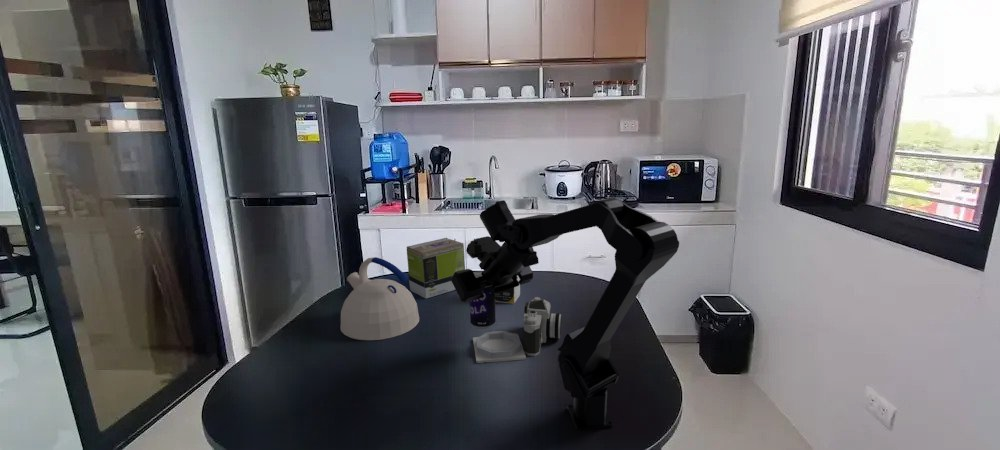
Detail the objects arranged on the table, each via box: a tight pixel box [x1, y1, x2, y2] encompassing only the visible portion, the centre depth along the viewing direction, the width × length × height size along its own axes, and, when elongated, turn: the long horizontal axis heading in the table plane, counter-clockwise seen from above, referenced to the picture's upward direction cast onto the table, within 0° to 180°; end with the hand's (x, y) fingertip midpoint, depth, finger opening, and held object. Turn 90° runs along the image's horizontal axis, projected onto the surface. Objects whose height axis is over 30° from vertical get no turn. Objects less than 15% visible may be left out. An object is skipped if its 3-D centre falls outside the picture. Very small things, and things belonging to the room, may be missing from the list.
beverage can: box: [469, 270, 497, 330], centre depth 103 cm, size 6×6×12 cm
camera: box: [523, 296, 562, 357], centre depth 109 cm, size 16×9×10 cm, turn 169°
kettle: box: [340, 256, 420, 341], centre depth 119 cm, size 20×21×18 cm
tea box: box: [406, 237, 466, 300], centre depth 143 cm, size 15×10×15 cm
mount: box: [472, 330, 527, 364], centre depth 106 cm, size 11×11×2 cm
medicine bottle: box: [495, 276, 521, 305], centre depth 135 cm, size 7×7×12 cm
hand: (478, 295), depth 104 cm, fingers closed on beverage can, 6 cm apart
